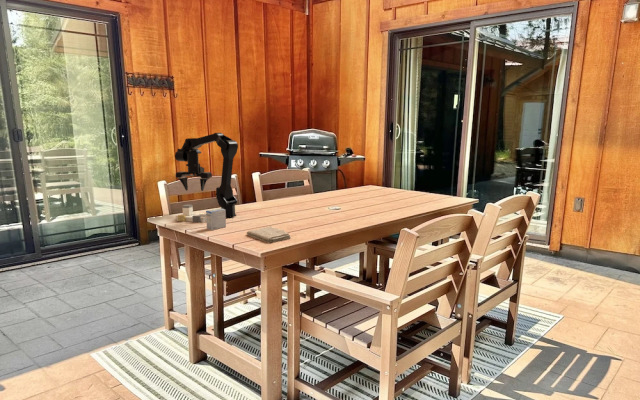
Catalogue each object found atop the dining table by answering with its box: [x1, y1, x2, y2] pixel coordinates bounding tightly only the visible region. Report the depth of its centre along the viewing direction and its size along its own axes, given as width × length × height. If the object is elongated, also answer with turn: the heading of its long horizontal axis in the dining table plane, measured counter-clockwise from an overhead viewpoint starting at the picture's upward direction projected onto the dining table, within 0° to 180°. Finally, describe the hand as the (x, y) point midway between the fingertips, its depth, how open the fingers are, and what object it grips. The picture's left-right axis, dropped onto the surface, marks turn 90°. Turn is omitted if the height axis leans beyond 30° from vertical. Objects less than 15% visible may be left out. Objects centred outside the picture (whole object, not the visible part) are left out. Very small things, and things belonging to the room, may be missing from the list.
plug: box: [181, 204, 194, 216], centre depth 213 cm, size 4×4×7 cm
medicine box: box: [205, 207, 227, 231], centre depth 193 cm, size 8×4×9 cm, turn 141°
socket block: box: [175, 212, 206, 223], centre depth 211 cm, size 15×12×3 cm
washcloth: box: [246, 226, 292, 244], centre depth 178 cm, size 12×18×3 cm, turn 43°
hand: (194, 190), depth 226 cm, fingers open, 9 cm apart
